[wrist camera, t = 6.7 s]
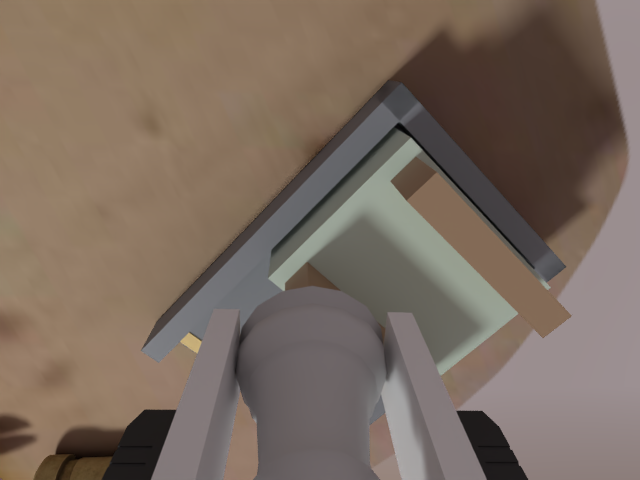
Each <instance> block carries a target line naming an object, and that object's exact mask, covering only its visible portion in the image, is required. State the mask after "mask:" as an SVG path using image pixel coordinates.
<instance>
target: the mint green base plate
mask: <svg viewBox="0 0 640 480" xmlns="http://www.w3.org/2000/svg"><path fill="white" fill-rule="evenodd" d="M268 279H269V280H270V281H272V282H273V283H274V284H275V285H277V286H278V287H279V288H280V289H282V290H283V291H286V290H292V289H297V288H303V287H309V286H316V287H322V288H327V289H333V290H338V291H343V292H344V293H346V294H347V295H349V296H351V297H352V298H354V299H356V300H357V301H359V302H360V303H362V304H364V305H365V306H367V308H368V309H369V311H370V312H371V314H372V315H373V317H374V318H375V319H376V321H377V322H378V324H379V325H380V327H381V331H382V338H383V345H384V337H385V328H386V319H387V312H404V313H412V314H413V316H414V318H415V320H416V323H417V325H418V327H419V329H420V332H421V334H422V336H423V338H424V341H425V343H426V345H427V347H428V349H429V352H430V354H431V356H432V358H433V361H434V363H435V365H436V367H437V370H438V372H439V374H440V376H441V375H442V374H443V373H445V372H446V371H447V370H448V369H450V368H451V367H452V366H453V365H455V364H456V363H457V362H458V361H460V360H461V359H462V358H463V357H465V356H466V355H467V354H468V353H470V352H471V351H472V350H473V349H475V348H476V347H477V346H478V345H480V344H481V343H482V342H483V341H485V340H486V339H487V338H488V337H490V336H491V335H492V334H493V333H495V332H496V331H497V330H498V329H500V328H501V327H502V326H503V325H505V324H506V323H507V322H508V321H510V320H511V319H512V318H513V317H515V316H516V315H517V314H518V313H519V314H520V315H521V316H522V317H523V318H524V319H525V320H526V321H527V322H528V324H529V325H530V326H531V327H532V328H533V329H534V330H535V331H536V332H538V333H539V335H540V336H541V337H542V338H544V337H545V336H546V335H548V334H549V333H550V332H552V331H553V330H554V329H555V328H557V327H558V326H559V325H561V324H562V323H563V322H565V321H566V320H567V319H569V318H570V317H571V315H570V314H569V313H568V311H567V310H565V308H564V307H562V305H561V304H560V303H559V302H558V301H557V300H556V299H555V298H554V296H553V295H552V294H551V293H550V292H549V291H548V289H550V286H549V285H548V284H547V283H546V282H545V281H544V280H543V279H542V278H541V277H540V276H539V275H538V274H537V273H536V271H535V270H534V269H533V268H532V267H531V266H530V265H529V264H528V263H527V262H526V261H525V260H524V259H523V257H522V256H521V255H520V254H519V253H518V252H517V251H516V250H515V249H514V248H513V247H512V246H511V245H510V243H509V242H508V241H507V240H506V239H505V238H504V237H503V236H502V235H501V234H500V233H499V232H498V231H497V230H496V228H495V227H494V226H493V225H492V224H491V223H490V222H489V221H488V220H487V219H486V218H485V217H484V216H483V214H482V213H481V212H480V211H479V210H478V209H477V208H476V207H475V206H474V205H473V204H472V203H471V202H470V201H469V199H468V198H467V197H466V196H465V195H464V194H463V193H462V192H461V191H460V190H459V189H458V188H457V187H456V185H455V184H454V183H453V182H452V181H451V180H450V179H449V178H448V177H447V176H446V175H445V174H444V173H443V172H442V170H441V169H440V168H439V167H438V166H437V165H436V164H435V163H434V162H433V161H432V160H431V159H430V158H429V156H428V155H427V154H426V153H425V152H424V151H423V150H422V149H421V148H420V147H419V146H418V145H417V144H416V143H415V141H414V140H413V139H412V138H411V137H409V136H408V135H406V134H404V133H403V132H401V131H399V130H398V129H396V128H395V127H393V128H392V129H391V130H390V131H389V132H388V133H387V134H386V135H385V136H384V137H383V138H382V139H381V140H380V141H379V142H378V143H377V144H376V145H375V146H374V147H373V148H372V149H371V150H370V151H369V152H368V153H367V154H366V155H365V156H364V157H363V158H362V159H361V160H360V161H359V162H358V163H357V164H356V165H355V166H354V167H353V168H352V169H351V170H350V171H349V172H348V173H347V174H346V175H345V176H344V177H343V178H342V179H341V180H340V181H339V182H338V183H337V184H336V185H335V186H334V187H333V188H332V189H331V190H330V191H329V192H328V193H327V194H326V195H325V196H324V197H323V198H322V199H321V200H320V201H319V202H318V203H317V204H316V205H315V206H314V207H313V208H312V209H311V210H310V211H309V212H308V213H307V214H306V215H305V216H304V217H303V218H302V220H301V221H300V222H299V223H298V224H297V225H296V226H295V227H294V228H293V229H292V230H291V231H290V232H289V233H288V234H287V235H286V236H285V237H284V238H283V239H282V240H281V241H280V242H279V243H278V244H277V245H276V246H275V247H274V248H273V249H272V250H271V258H270V266H269V274H268Z"/></svg>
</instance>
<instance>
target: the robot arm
mask: <svg viewBox="0 0 640 480" xmlns="http://www.w3.org/2000/svg"><path fill="white" fill-rule="evenodd" d="M239 340H240V309H214V310H213V313H212V315H211V318H210V321H209V324H208V326H207V329H206V332H205V334H204V337H203V340H202V343H201V345H200V348H199V351H198V353H197V356H196V359H195V362H194V364H193V367H192V370H191V372H190V375H189V378H188V381H187V383H186V386H185V389H184V391H183V394H182V397H181V400H180V402H179V405H178V408H177V410H144V411H143V412H142V413H141V414H140V415H139V416H138V417H137V418H136V419H135V420H133V421H132V422H131V423H130V424H129V425H128V426H127V428H126V430H125V432H124V434H123V436H122V439H121V441H120V443H119V445H118V449H117V450H116V451H115V453H114V455H113V457H112V459H111V461H110V465H109V467H107V469H106V471H105V473H104V475H103V477H102V479H101V480H223V477H224V472H225V467H226V462H227V456H228V451H229V446H230V441H231V436H232V430H233V425H234V420H235V415H236V410H237V405H238V399H239V394H240V387H239V384H238V380H237V376H236V365H237V359H238V354H239ZM384 351H385V357H386V364H387V375H386V380H385V383H384V386H383V389H382V392H381V396H382V400H383V404H384V408H385V412H386V416H387V421H388V425H389V429H390V433H391V437H392V441H393V446H394V450H395V454H396V458H397V462H398V466H399V470H400V475H401V479H402V480H528V478H527V477H526V475H525V473H524V471H523V469H522V468H521V466H519V464H518V460H517V459H516V457H515V455H514V453H513V451H512V450H510V446H509V444H508V442H507V440H506V438H505V437H504V435H503V433H502V431H501V429H500V428H499V426H497V424H495V423H494V422H493V421H492V420H491V419H490V418H489V417H488V416H487V415H486V414H485V413H484V412H483V411H456V410H455V407H454V405H453V403H452V401H451V399H450V396H449V394H448V392H447V390H446V387H445V385H444V383H443V381H442V378H441V376H440V374H439V372H438V370H437V367H436V365H435V363H434V361H433V358H432V356H431V354H430V352H429V349H428V347H427V345H426V343H425V341H424V338H423V336H422V334H421V332H420V329H419V327H418V325H417V323H416V320H415V318H414V316H413V314H412V313H404V312H387V319H386V328H385V337H384Z"/></svg>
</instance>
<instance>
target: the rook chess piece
mask: <svg viewBox="0 0 640 480" xmlns="http://www.w3.org/2000/svg"><path fill="white" fill-rule="evenodd" d="M386 375H387V364H386V357H385V351H384V345H383V338H382V331H381V327H380V325H379V324H378V322H377V321H376V319H375V318H374V317H373V315H372V314H371V312H370V311H369V309H368V308H367V306H365V305H364V304H362V303H360V302H359V301H357V300H356V299H354V298H352V297H351V296H349V295H347V294H346V293H344V292H343V291H338V290H333V289H327V288H322V287H316V286H309V287H303V288H297V289H292V290H286V291H282V292H280V293H278V294H277V295H275V296H273V297H272V298H270V299H268V300H267V301H265V302H263V303H262V304H260V305H258V306H257V307H256V309H255V310H254V311H253V313H252V314H251V316H250V317H249V318H248V320H247V321H246V322H245V324H244V325H243V327H242V329H241V334H240V340H239V354H238V359H237V365H236V376H237V380H238V384H239V387H240V390H241V393H242V397H243V400H244V403H245V404H246V405H247V406H248V407H249V409H250V413H251V416H252V418H253V419H254V420H255V422H256V423H257V439H258V460H259V464H258V472H257V476H256V477H255V478H254V479H253V480H380V479H379V478H378V476H377V475H376V474H375V473H374V472H373V470H372V469H371V466H370V449H369V419H370V418H371V417H372V415H373V412H374V409H375V406H376V403H377V402H378V401H379V398H380V395H381V392H382V389H383V386H384V383H385V380H386Z"/></svg>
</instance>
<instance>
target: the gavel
mask: <svg viewBox="0 0 640 480" xmlns="http://www.w3.org/2000/svg"><path fill="white" fill-rule="evenodd" d="M112 457H113V456H112ZM112 457H84V458H81V459H79V460H76V457H75V455H74V454H63V455H50V456H48V457H46V458H45V459H44V461H43V462H42V463H41V465H40V466H39V468H38V470H37V471H36V474H35V476H34V479H33V480H101V479H102V477H103V475H104V473H105V471H106V469H107V467H109V465H110V461H111V459H112Z"/></svg>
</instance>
